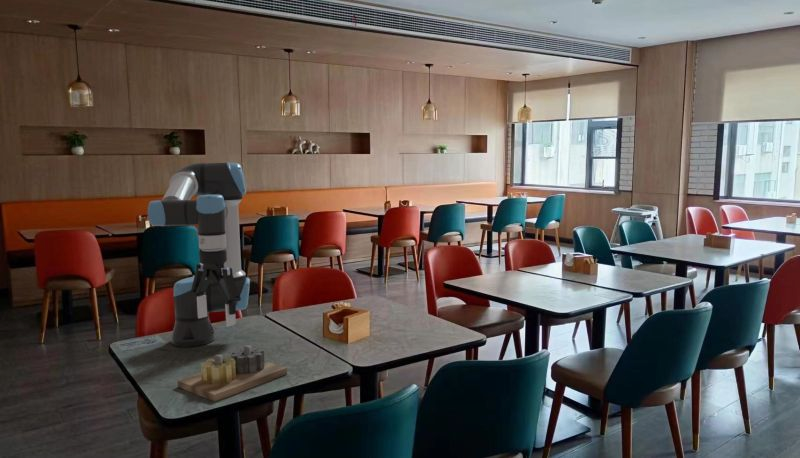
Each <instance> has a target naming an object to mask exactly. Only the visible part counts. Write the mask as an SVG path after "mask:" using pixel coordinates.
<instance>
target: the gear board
mask: <svg viewBox="0 0 800 458" xmlns="http://www.w3.org/2000/svg"><path fill="white" fill-rule="evenodd" d="M213 357H214V358H213V359H214V360H215V365H218V364H223V363H222V357H223V355H222V354H216V355H214V356H213ZM230 357H231V358H234V361H236V374H237V377H236V379H232V382H229V383H220V385H213V384H211V383H210V384H204V383H203V381H202V373H201V372H199V373H195V374H192V375H189V376H187V377H183V378H180V379H178V380H177V388H180V389H182V390H185V391H187V392H188V393H192V394H195V395H196V396H200V397H202V398H205V399H207V400H210V401H212V402H213V403H215V402H218V401H222V400H223V399H227V398H228V397H231V396H233V395H236V394H238V393H242V392H244V391H247V390H249V389H251V388H254V387H256V386H260V385H262V384H265V383H268V382H270V381H272V380H275V379H277V378H280V377H283V376H285V375H288V371H287V369H288V367H285V366H282V365H279V364H275V363H272V362H268V361H266V360H265V350H263V349H259V348H258V347H252V345H250V344H249V345H248V344H247V345H245V346H244V345H243V348H240V350H234V351H232V352H231V355H230Z"/></svg>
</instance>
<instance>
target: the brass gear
mask: <svg viewBox="0 0 800 458" xmlns="http://www.w3.org/2000/svg"><path fill="white" fill-rule="evenodd" d="M222 363H223V364H218V365H215V360H214V358H211V357H210V358H208V359H206V360H205V361H202V362H201V365H200V371H201V372H200V373H202V381H203V383H204V384H210V383H211V384H213V385H220V383H229V382H232V379H236V377H237V374H236V361H234V358H231V356H230V357H227V358H226V357H225V356H222Z"/></svg>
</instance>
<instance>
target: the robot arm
mask: <svg viewBox="0 0 800 458" xmlns="http://www.w3.org/2000/svg"><path fill="white" fill-rule="evenodd" d="M246 194H247V188H246V180H245V176H244V172H243V167H242V166H241V164H240V163H238V162H228V161H227V162H203V163H202V162H196V163H192V164H188V165H186V166H184V167H182V168H180V169H178V170H177V171H175V172H174V173H173V174H172V175H171V177H170V179H169V181H168V188H167V190H166V192H165V194H164V195H163V197H162V199H161V200H160V199H157V200H151V201H149V203H148V206H147V217H148V222H149V224H150V225H151V226H153V227H171V226H172V227H173V226H176V227H177V226H197V231H198V232H197V234H198V249H200V250H199V251H198V258H199V262H198V263H196V265H195V273H194V276H190V277H186V278H183V279H180V280H178V281H176V282H175V283H174V285H173V295H172V296H173V304H174V305H173V306H174V320H175V322H174V327H173V330H172V334H171V338H170V339H171V341H170V342H171V344H172V345H173V346H175V347H178V348H179V347H180V348H181V347H183V348H190V347H198V346H203V345H207V344H210V343H212V342H213V341H215V340H216V335H215V334H216V333H215V330H214V327H213V325H212V323H211V320H210V313H216V312H225V327H230V326H231V327H232V326H234V325H237V321H236V317H237V316H236V313H237V311H242V310H246V308H247V307H248V304H249V296H250V295H249V294H250V284H251V280H250V277H246V276H247V275H246V272H245V271H244V270H242V258H241V239H240V232H241V231H240V213H239V204H240V203H241V202H242V201H243V196H244V195H246ZM195 196H197V197H196V199H192V198H193V197H195Z"/></svg>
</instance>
